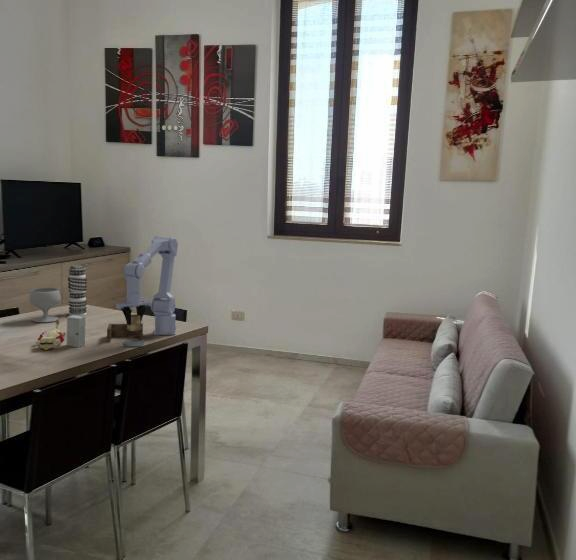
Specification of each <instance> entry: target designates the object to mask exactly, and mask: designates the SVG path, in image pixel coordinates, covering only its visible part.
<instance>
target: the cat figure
mask: <svg viewBox="0 0 576 560" xmlns="http://www.w3.org/2000/svg"><path fill="white" fill-rule="evenodd" d="M55 323H56V325H55V328H54V329H52V330H50V331H49V333H47V331H43V332H41V334H39V336H38V338H37V341H35V345H37V346H39V348H41V349H44V351H47V350H50V349H53V348H57V347H58V345H61V344H62V343H63V342H64V341H65V338H64V337H65V335H66V332H65V329H61V330H60V329H59V327H60V318H59V319H56V321H55ZM45 333H47V335H46V336H44V335H45ZM57 338H59V339H57Z"/></svg>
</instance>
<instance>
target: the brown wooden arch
mask: <svg viewBox="0 0 576 560" xmlns="http://www.w3.org/2000/svg"><path fill="white" fill-rule="evenodd" d="M143 336H144V323H142V322H141V324H140V330H137V331H130V330H128V329H127V323H109V324H108V326H107V329H106V342H107V343H111V340H112V338H114V337H118V338H119V337H139V340H138V341H143V339H144V338H143Z"/></svg>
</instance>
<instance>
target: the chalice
mask: <svg viewBox="0 0 576 560" xmlns="http://www.w3.org/2000/svg"><path fill="white" fill-rule="evenodd" d="M61 298H62V297H61V293H60V290H59V289H58V288H56V287H37V288H33V289H31V291H30V293H29V297H28V300H29V301H28V302H29V303H30V304H31V305H32V306H34V307H36V308H38V309H40V310H41V311H42V312H43V315H42V316H38V317H33V318H32V319H31V321H32V322H33V323H52V322H56V319H59V320H60V318H59V316H58V317H57V316H51V315H49V314H48V313H49V310H51V309H52V308H54V307H55V306H57V305H59V304H60V302H61V301H62V299H61Z"/></svg>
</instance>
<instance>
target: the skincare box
mask: <svg viewBox="0 0 576 560" xmlns="http://www.w3.org/2000/svg"><path fill="white" fill-rule="evenodd" d="M85 339H86V316H84V315H83V316H76V315H72V316H71V315H69V316H67V317H66V346H67V347H75V348H81V347H83V346H85V343H86V340H85ZM80 346H81V347H80Z"/></svg>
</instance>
